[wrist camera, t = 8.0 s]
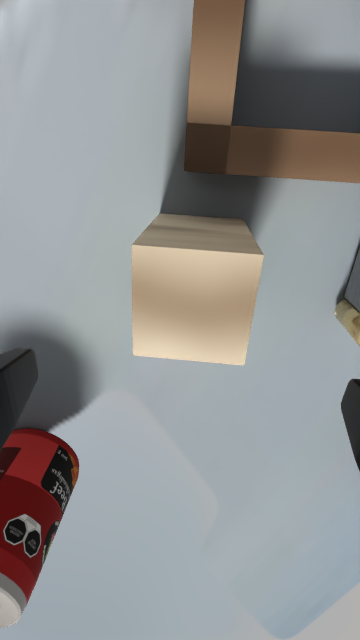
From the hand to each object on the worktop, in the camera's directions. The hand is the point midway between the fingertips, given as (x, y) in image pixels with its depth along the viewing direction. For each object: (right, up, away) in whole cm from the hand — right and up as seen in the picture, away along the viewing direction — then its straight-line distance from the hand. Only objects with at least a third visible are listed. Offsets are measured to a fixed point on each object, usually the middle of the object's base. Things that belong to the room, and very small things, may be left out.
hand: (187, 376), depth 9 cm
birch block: (+1, +6, +11) cm, 13 cm away
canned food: (-13, -11, +21) cm, 27 cm away
